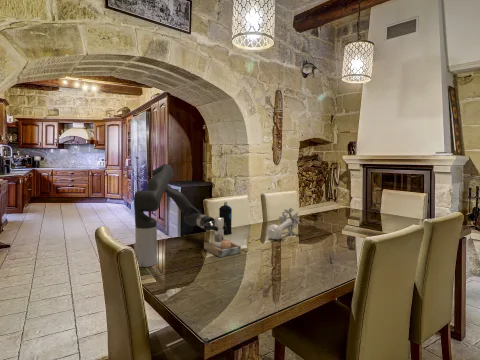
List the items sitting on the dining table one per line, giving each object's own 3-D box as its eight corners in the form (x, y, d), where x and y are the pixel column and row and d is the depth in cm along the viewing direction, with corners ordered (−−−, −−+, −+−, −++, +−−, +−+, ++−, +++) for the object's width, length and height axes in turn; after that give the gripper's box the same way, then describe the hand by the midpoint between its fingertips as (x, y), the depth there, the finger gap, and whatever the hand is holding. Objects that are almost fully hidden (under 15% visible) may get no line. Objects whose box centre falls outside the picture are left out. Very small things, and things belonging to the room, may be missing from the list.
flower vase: (279, 252, 186) (302, 234, 203) (280, 225, 179) (303, 208, 196) (262, 244, 194) (285, 227, 211) (262, 217, 187) (286, 202, 204)
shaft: (217, 242, 164) (217, 219, 163) (212, 240, 168) (212, 217, 167) (225, 241, 167) (225, 218, 166) (220, 238, 171) (220, 216, 170)
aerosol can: (220, 235, 197) (220, 203, 195) (217, 232, 205) (217, 201, 203) (233, 234, 199) (233, 202, 197) (230, 231, 207) (230, 200, 205)
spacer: (224, 254, 159) (224, 243, 158) (218, 252, 163) (219, 240, 163) (232, 253, 162) (232, 241, 161) (227, 250, 166) (227, 239, 165)
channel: (219, 257, 155) (219, 250, 155) (204, 248, 168) (204, 242, 168) (240, 253, 162) (240, 246, 162) (223, 245, 175) (224, 239, 175)
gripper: (194, 217, 174) (209, 223, 160) (216, 214, 182) (233, 220, 168) (194, 230, 175) (209, 237, 161) (216, 227, 183) (233, 233, 169)
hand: (221, 228), depth 165 cm, fingers closed on shaft, 4 cm apart
